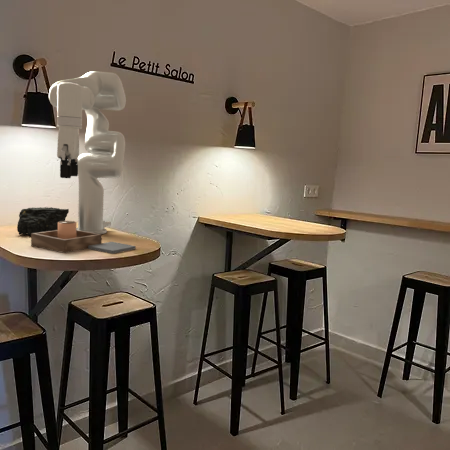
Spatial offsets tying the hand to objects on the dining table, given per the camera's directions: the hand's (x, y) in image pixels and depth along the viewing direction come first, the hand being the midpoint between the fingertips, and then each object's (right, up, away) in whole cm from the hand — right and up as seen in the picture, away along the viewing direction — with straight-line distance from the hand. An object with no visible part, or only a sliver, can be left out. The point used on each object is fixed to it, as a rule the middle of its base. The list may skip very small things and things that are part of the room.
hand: (69, 177), depth 146 cm
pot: (-3, -23, +7) cm, 24 cm away
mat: (+13, -24, +6) cm, 27 cm away
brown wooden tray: (-3, -23, +7) cm, 24 cm away
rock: (-19, -19, +27) cm, 38 cm away
